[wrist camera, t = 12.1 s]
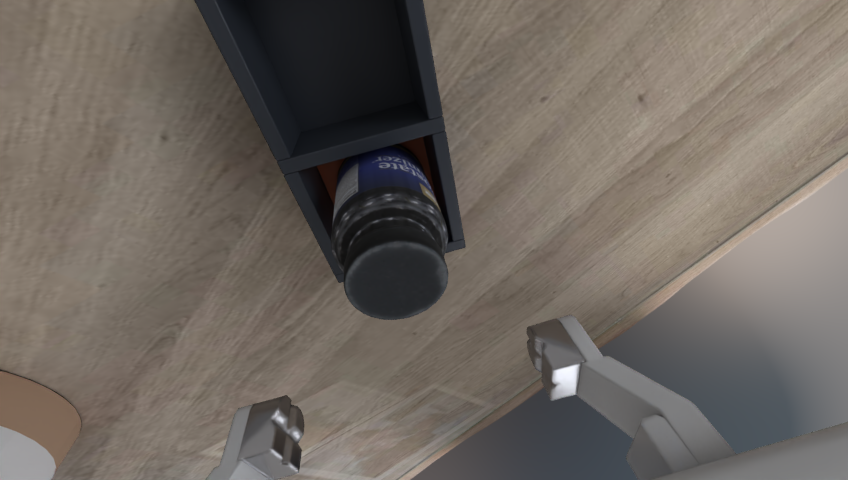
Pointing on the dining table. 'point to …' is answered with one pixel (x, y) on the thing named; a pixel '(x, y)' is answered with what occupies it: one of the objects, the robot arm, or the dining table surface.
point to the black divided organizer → (337, 93)
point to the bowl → (33, 429)
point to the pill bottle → (388, 234)
